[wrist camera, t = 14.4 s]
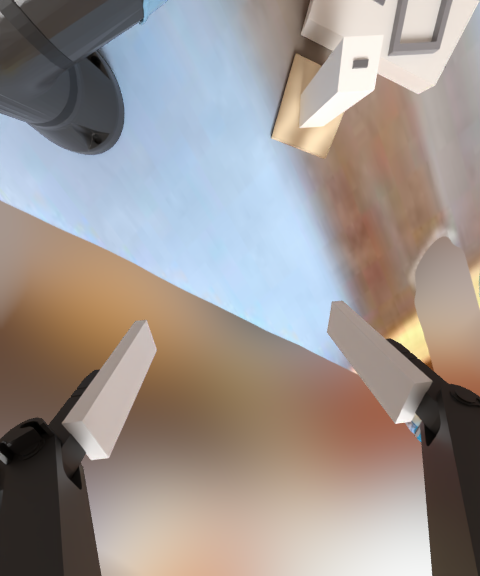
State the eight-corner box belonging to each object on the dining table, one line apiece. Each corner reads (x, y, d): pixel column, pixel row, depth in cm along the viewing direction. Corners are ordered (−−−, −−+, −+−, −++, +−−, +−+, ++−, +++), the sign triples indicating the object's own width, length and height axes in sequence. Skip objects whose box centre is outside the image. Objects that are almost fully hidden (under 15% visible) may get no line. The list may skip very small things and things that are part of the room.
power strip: (300, 34, 30) (311, 12, 26) (330, -70, 26) (347, -114, 22) (418, 94, 34) (441, 82, 30) (459, 11, 30) (492, -14, 26)
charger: (298, 128, 34) (338, 91, 22) (300, 95, 32) (345, 35, 20) (323, 126, 34) (375, 88, 22) (326, 93, 32) (385, 32, 20)
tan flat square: (271, 138, 35) (272, 136, 34) (294, 56, 31) (296, 53, 30) (323, 158, 37) (325, 157, 36) (352, 84, 33) (355, 82, 32)
